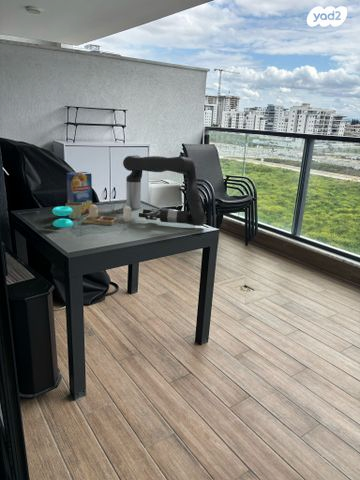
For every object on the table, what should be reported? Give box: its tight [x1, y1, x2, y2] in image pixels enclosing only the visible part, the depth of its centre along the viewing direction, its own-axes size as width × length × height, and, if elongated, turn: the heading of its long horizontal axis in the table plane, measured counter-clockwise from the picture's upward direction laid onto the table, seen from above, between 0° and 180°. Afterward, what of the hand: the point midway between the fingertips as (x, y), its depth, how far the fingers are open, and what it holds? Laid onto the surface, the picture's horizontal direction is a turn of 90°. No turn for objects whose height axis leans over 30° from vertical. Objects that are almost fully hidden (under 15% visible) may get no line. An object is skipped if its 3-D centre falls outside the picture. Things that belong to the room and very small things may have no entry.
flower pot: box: [65, 202, 83, 220], centre depth 208 cm, size 9×9×9 cm
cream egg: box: [122, 205, 133, 223], centre depth 206 cm, size 5×5×9 cm
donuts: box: [52, 205, 74, 228], centre depth 193 cm, size 10×10×10 cm
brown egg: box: [88, 203, 99, 220], centre depth 201 cm, size 5×5×9 cm
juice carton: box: [66, 171, 93, 215], centre depth 217 cm, size 12×8×24 cm, turn 132°
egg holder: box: [82, 214, 118, 226], centre depth 202 cm, size 9×17×3 cm, turn 80°
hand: (140, 213), depth 205 cm, fingers open, 8 cm apart
